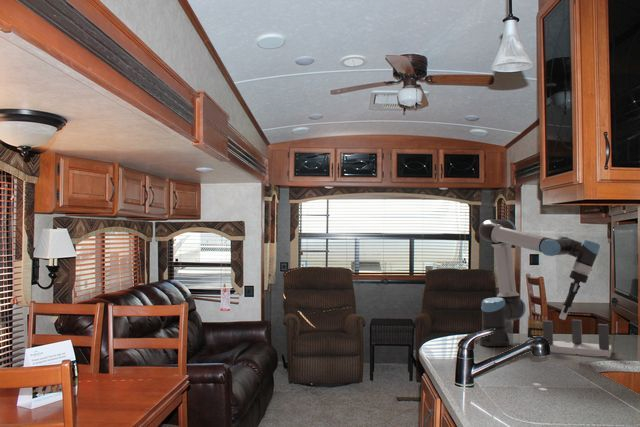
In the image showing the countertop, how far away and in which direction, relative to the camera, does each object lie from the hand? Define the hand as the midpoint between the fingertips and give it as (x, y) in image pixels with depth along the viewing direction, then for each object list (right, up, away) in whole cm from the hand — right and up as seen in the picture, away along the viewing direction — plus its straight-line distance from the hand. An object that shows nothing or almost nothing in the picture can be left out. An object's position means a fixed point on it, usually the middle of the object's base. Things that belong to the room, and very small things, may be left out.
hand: (561, 318), depth 256 cm
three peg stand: (+9, -16, +4) cm, 19 cm away
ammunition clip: (+4, -18, +38) cm, 42 cm away
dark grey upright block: (+11, -13, +7) cm, 18 cm away
